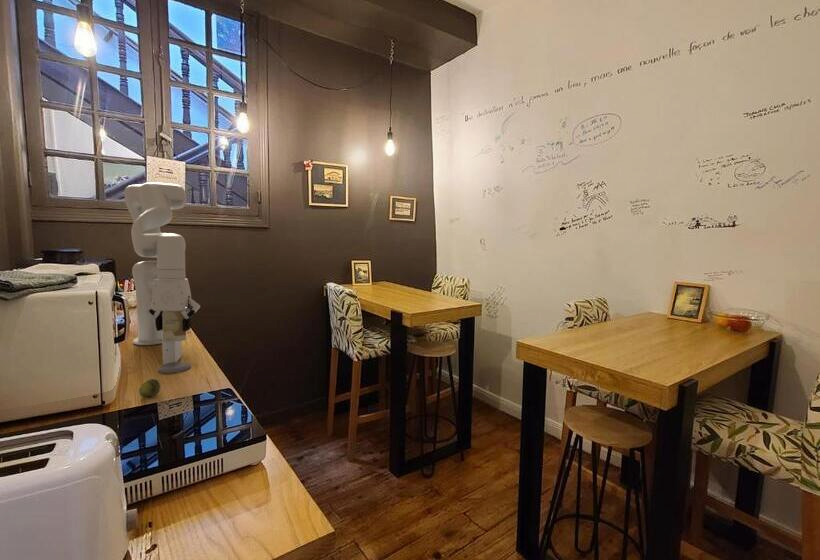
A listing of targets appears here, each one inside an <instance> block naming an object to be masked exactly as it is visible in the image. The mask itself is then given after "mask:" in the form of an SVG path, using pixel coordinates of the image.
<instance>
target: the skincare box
mask: <svg viewBox="0 0 820 560" xmlns="http://www.w3.org/2000/svg"><path fill="white" fill-rule="evenodd" d="M183 319H184V316H183V314H182V313H181V311H180V312H172V311H162V338H163V341H164V342H172V341H186V340H187V331H183Z"/></svg>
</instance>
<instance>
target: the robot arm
mask: <svg viewBox="0 0 820 560" xmlns="http://www.w3.org/2000/svg"><path fill="white" fill-rule="evenodd" d="M124 202H125V205H126V208H127V210H128V212H129V214H130V215H131V218H132V221H133V223H132V225H131V230H130V231H131V233H130V235H131V240H132V245H133V249H134V252H135V253H136V255H138V256H139V257H141V258H156V260H142V261H139V262H136V263H135V264H134V265H133V266H132V269H131V273H132V277H133V283H134V288H135V289H134V290H135V300H136V301H135V302H136V321H137V323H136V324H137V337H136V338H134V339H133V340H132V342H133V344H134V345H137V346H156V345H160V344H161V345H162V311H172V312H180V311H181V313H182V314H183V316H184V319H183V331H186V332H187V331H189V330H191V328H192V322H191V321H192V319H191V318H192V317H193V316H194V315H195V314H196V313H197V311H198V310H199V309H200V308H201V304H200V303H197V302H196V301H195V300H194V299H192V292H191V288H190V283H189V282H190V281H189V279H188V278H186V277H187V276H186V246H187V244H186V240H185V237H184V236H182V235H181V234H178V233H173V232H172V233H171V232H169V233H167V232H162V231H161V227H163V226H166V225H168V224H169V223H170V222H172V220H173V211H172V210H179V209H180V210H181V209H183V208H184V207H185V206H186V204H187V194H186V191H185V189H184V188H183V187H182V185H179V184H175V183H165V182H157V181H156V182H153V181H151V182H145V183H142V184H131V185H128V186H126V187H125V189H124ZM191 308H192V309H191ZM190 309H191V310H190Z"/></svg>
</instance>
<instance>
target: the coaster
mask: <svg viewBox="0 0 820 560" xmlns="http://www.w3.org/2000/svg"><path fill="white" fill-rule="evenodd" d="M191 368H192V367H191V363H189V362H186V361H177V362H173V363H168V364H162V365H160V366H158V368H157V371H158V373H159V374H163V375H165V374H167V375H172V374H173V375H174V374H178V373H183V372H187V371H189V370H190V369H191Z"/></svg>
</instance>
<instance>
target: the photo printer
mask: <svg viewBox="0 0 820 560" xmlns="http://www.w3.org/2000/svg"><path fill="white" fill-rule="evenodd" d="M182 342H183V340H181V341H172V342H164V341H163V338H162V343H161V348H162V349H161V350H162V351H161V352H162V365H164V364H168V363H173V362H179V360H180V359H181V358H182V356H183V352H182V351H183V348H182V347H183V346H182V345H183V343H182Z"/></svg>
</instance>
